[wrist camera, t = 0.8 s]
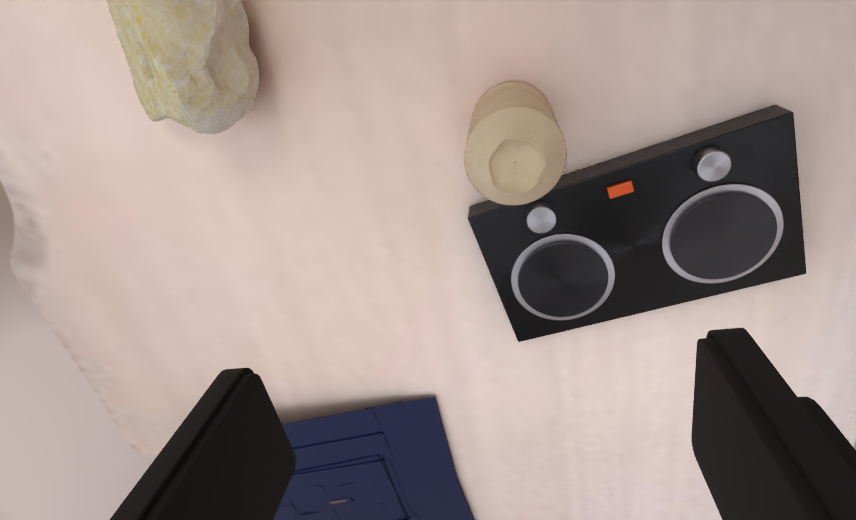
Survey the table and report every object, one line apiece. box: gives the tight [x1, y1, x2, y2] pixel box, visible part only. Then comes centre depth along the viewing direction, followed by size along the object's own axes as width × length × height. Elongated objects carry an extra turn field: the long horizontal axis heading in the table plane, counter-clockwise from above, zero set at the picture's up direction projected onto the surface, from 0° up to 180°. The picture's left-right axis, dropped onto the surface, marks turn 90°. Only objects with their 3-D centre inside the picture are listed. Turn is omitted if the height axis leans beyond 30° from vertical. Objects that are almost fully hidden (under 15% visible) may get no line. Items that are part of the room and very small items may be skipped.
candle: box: [464, 81, 566, 205], centre depth 29 cm, size 6×6×10 cm
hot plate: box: [468, 105, 806, 342], centre depth 35 cm, size 12×21×3 cm, turn 113°
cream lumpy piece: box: [107, 0, 259, 134], centre depth 30 cm, size 15×7×15 cm
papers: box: [273, 397, 474, 520], centre depth 55 cm, size 24×30×4 cm
